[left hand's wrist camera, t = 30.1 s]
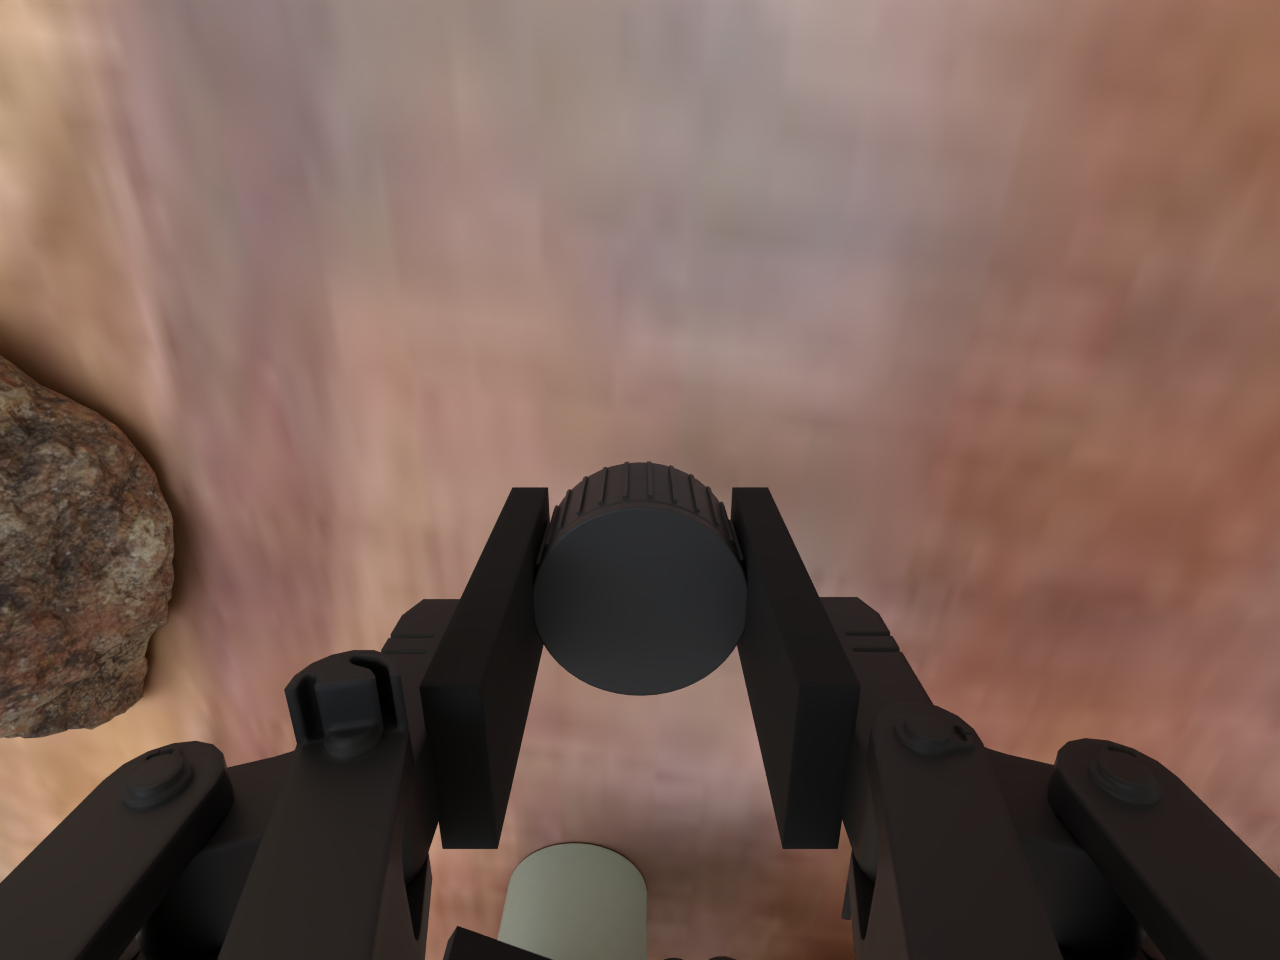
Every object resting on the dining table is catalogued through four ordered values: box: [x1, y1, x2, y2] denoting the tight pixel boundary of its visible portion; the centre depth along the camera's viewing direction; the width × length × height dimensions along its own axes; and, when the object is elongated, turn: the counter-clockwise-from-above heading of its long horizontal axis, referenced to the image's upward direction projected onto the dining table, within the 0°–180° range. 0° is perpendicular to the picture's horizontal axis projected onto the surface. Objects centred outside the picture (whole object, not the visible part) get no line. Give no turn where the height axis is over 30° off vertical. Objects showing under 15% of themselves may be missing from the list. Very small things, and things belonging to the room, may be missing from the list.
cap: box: [533, 461, 747, 696], centre depth 14 cm, size 4×4×2 cm
